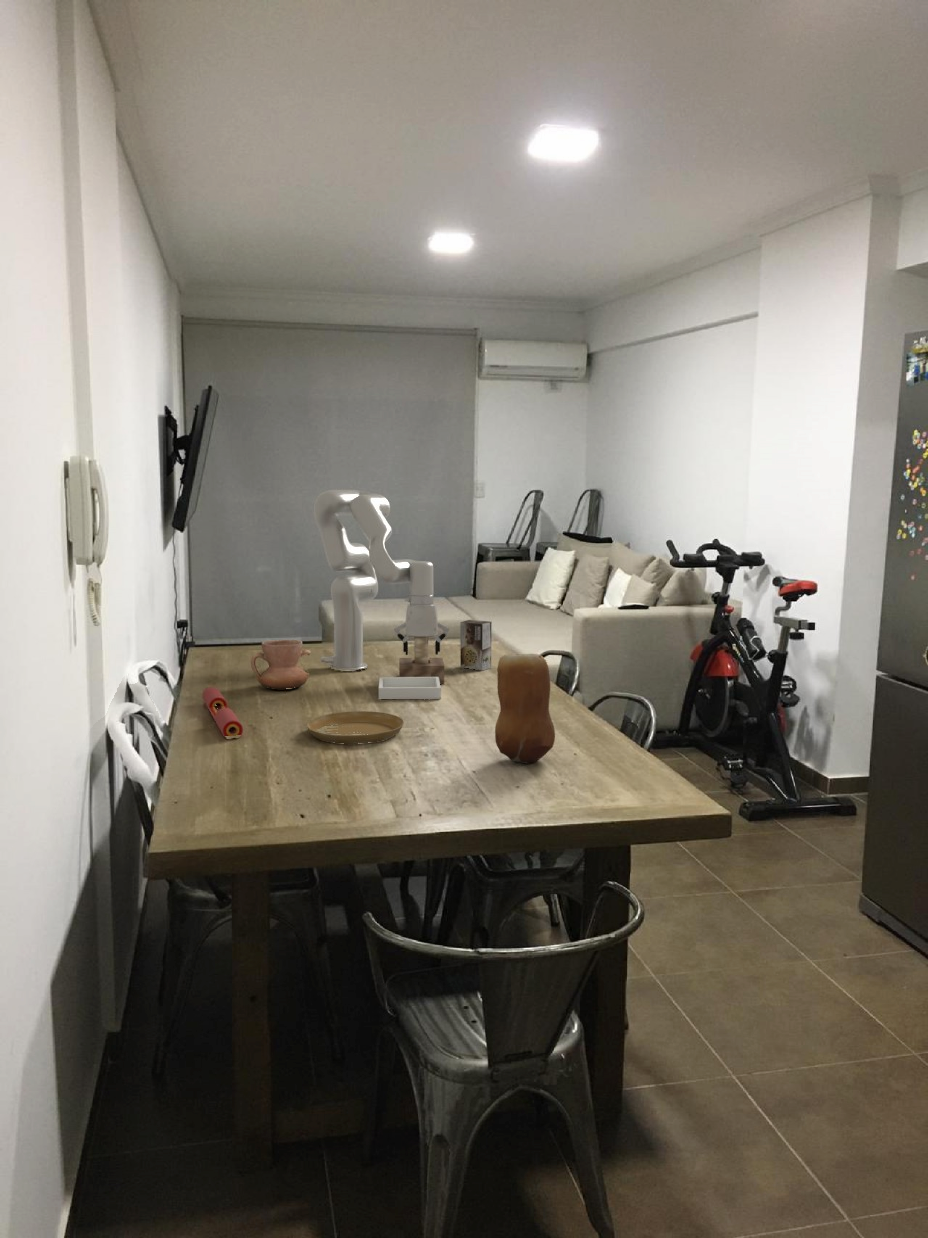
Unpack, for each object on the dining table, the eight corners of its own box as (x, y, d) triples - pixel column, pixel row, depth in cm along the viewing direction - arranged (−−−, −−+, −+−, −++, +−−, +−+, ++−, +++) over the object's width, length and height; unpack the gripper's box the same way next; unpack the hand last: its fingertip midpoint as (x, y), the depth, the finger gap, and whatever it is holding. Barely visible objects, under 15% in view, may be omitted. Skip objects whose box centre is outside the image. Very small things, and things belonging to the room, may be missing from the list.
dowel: (414, 681, 306) (414, 634, 304) (414, 678, 310) (414, 632, 308) (428, 681, 306) (428, 634, 304) (428, 678, 311) (428, 632, 309)
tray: (378, 700, 280) (378, 688, 279) (379, 688, 296) (379, 677, 295) (440, 699, 281) (440, 687, 281) (438, 688, 297) (438, 676, 296)
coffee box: (492, 668, 330) (492, 621, 328) (482, 671, 324) (482, 623, 322) (469, 665, 335) (469, 619, 332) (459, 668, 329) (459, 621, 327)
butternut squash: (518, 750, 228) (519, 645, 225) (565, 760, 220) (568, 652, 217) (481, 762, 218) (482, 653, 214) (530, 774, 209) (532, 660, 206)
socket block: (399, 684, 301) (399, 665, 300) (399, 676, 315) (399, 657, 314) (444, 684, 302) (444, 665, 301) (442, 675, 316) (442, 657, 315)
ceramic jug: (310, 681, 305) (308, 637, 303) (313, 690, 291) (311, 644, 289) (251, 685, 301) (249, 640, 299) (252, 694, 287) (250, 647, 285)
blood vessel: (243, 739, 237) (242, 719, 236) (222, 741, 235) (222, 721, 235) (220, 703, 276) (220, 686, 275) (202, 704, 274) (202, 687, 273)
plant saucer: (312, 751, 227) (312, 737, 227) (301, 726, 250) (301, 713, 250) (413, 744, 234) (413, 731, 233) (393, 721, 257) (393, 708, 256)
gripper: (393, 602, 301) (394, 656, 303) (449, 601, 302) (449, 656, 304) (394, 599, 308) (394, 652, 310) (448, 599, 309) (448, 652, 311)
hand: (421, 654), depth 307 cm, fingers open, 9 cm apart
